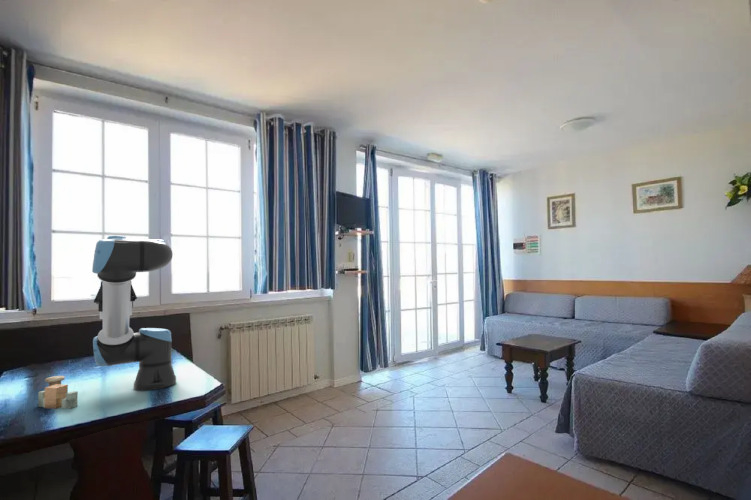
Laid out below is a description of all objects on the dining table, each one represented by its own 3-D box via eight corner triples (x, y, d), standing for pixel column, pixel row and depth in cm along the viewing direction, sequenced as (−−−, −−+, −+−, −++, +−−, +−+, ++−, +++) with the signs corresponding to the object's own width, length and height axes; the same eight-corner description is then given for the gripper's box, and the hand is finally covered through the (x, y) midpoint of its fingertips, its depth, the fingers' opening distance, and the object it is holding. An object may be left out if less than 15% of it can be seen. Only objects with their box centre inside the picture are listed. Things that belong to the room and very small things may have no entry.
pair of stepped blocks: (77, 406, 137) (77, 391, 137) (70, 408, 135) (70, 393, 135) (45, 404, 140) (45, 389, 140) (38, 406, 138) (38, 392, 138)
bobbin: (71, 397, 148) (71, 375, 148) (52, 403, 141) (52, 380, 141) (56, 396, 149) (57, 374, 150) (37, 402, 143) (37, 379, 143)
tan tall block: (67, 404, 139) (67, 384, 139) (56, 408, 135) (56, 388, 135) (56, 404, 140) (56, 384, 140) (44, 408, 136) (44, 387, 136)
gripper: (132, 270, 191) (132, 314, 190) (84, 270, 167) (83, 320, 165) (145, 269, 189) (145, 314, 188) (98, 269, 165) (98, 320, 164)
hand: (116, 317), depth 177 cm, fingers open, 13 cm apart
